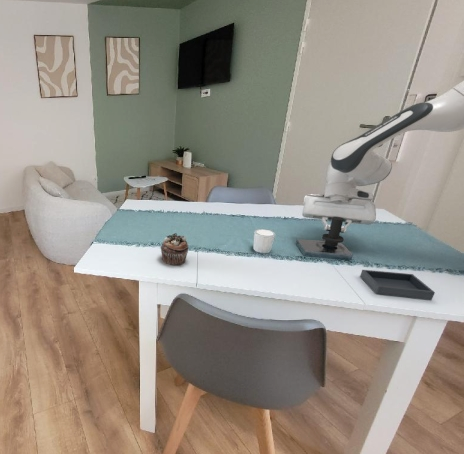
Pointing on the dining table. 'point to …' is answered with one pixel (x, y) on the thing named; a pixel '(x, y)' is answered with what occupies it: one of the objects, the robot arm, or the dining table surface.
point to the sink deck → (323, 249)
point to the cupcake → (174, 249)
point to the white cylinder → (263, 240)
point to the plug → (334, 232)
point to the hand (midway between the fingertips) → (335, 231)
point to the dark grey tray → (396, 284)
